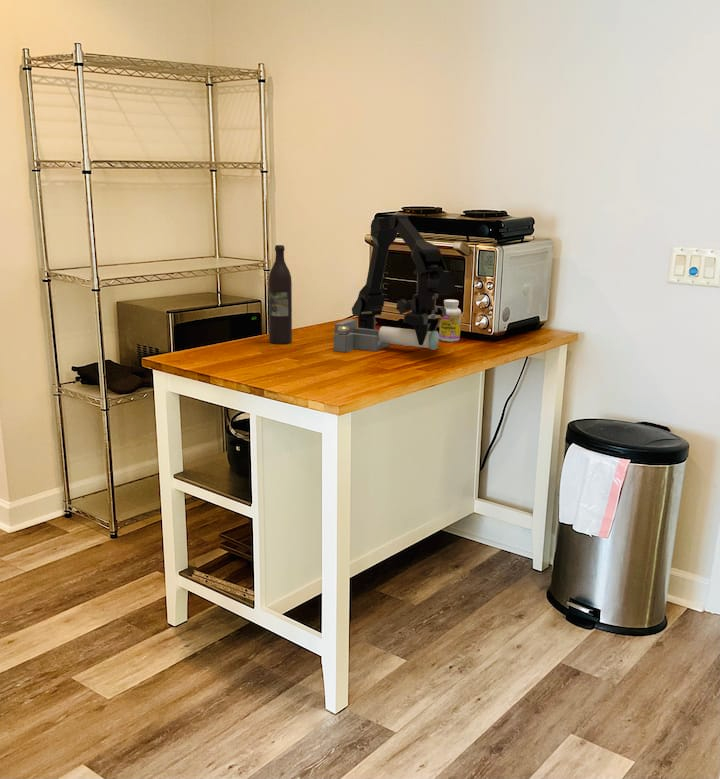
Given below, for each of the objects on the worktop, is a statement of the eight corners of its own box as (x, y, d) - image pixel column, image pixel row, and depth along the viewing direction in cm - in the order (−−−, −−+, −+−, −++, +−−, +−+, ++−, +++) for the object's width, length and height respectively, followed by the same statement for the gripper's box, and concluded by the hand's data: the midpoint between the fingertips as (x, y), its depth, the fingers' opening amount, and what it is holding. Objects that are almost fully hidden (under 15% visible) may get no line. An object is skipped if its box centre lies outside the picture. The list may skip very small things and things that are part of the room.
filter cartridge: (385, 341, 250) (386, 323, 248) (438, 348, 242) (439, 329, 240) (377, 345, 245) (378, 326, 243) (431, 351, 237) (432, 332, 236)
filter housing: (349, 340, 258) (349, 319, 256) (389, 345, 252) (389, 323, 250) (325, 349, 244) (325, 326, 242) (366, 354, 238) (367, 331, 236)
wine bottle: (264, 342, 254) (263, 245, 246) (280, 338, 259) (280, 244, 251) (280, 345, 249) (279, 246, 242) (296, 342, 255) (296, 245, 247)
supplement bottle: (436, 340, 260) (438, 301, 256) (442, 337, 266) (444, 298, 262) (456, 342, 257) (458, 302, 254) (462, 339, 263) (464, 299, 260)
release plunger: (341, 346, 246) (341, 325, 244) (350, 348, 245) (351, 326, 243) (335, 348, 243) (335, 327, 241) (345, 350, 242) (345, 328, 240)
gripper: (413, 285, 248) (412, 335, 252) (387, 292, 232) (386, 346, 236) (447, 288, 243) (445, 339, 247) (423, 295, 227) (421, 350, 231)
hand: (424, 343), depth 241 cm, fingers closed on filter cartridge, 5 cm apart
